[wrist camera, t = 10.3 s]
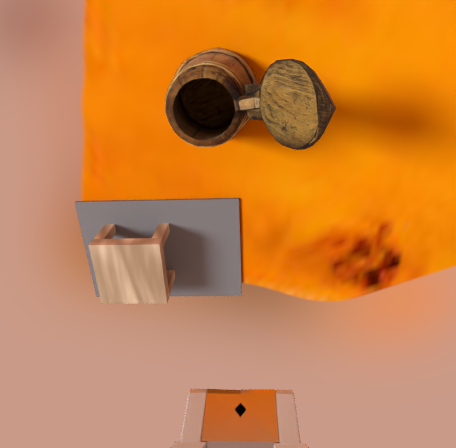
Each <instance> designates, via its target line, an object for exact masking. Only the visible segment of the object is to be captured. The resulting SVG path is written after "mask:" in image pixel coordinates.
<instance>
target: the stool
mask: <svg viewBox="0 0 456 448" xmlns="http://www.w3.org/2000/svg"><path fill="white" fill-rule="evenodd" d="M169 232H170V230H169V223H159V224H158V226H157V228H156V230H155V233H154V235H153V237H152V238H131V239H112V238H113V237H114V235H115V234H116V228H115V224H105V225H104V226H103V228H102V229H101V230H100V231H99V233H98V234H97V235H96V236H95V238H94V239H93V240H92V241H91V243H90V244H89V245H88V246H89V250H90V254H91V259H92V263H93V268H94V272H95V276H96V281H97V285H98V290H99V294H100V298H101V303H102V304H105V303H106V304H109V303H110V304H115V303H116V304H120V303H121V304H123V303H167V302H168V299H169V296H170V293H171V290H172V286H173V283H174V280H175V271H174V270H166V264H165V257H164V249H163V247H164V244H165V242H166V240H167V237H168V235H169Z"/></svg>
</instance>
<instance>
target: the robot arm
mask: <svg viewBox="0 0 456 448" xmlns="http://www.w3.org/2000/svg"><path fill="white" fill-rule="evenodd" d="M170 448H309V447H308V446H307V445H306V444H301V442H300V435H299V428H298V420H297V413H296V406H295V398H294V393H293V391H292V390H219V389H190V391H189V394H188V400H187V406H186V411H185V417H184V423H183V429H182V435H181V441H178V442H174V444H173V445H172V446H171V447H170Z"/></svg>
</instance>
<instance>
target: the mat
mask: <svg viewBox="0 0 456 448" xmlns="http://www.w3.org/2000/svg"><path fill="white" fill-rule="evenodd" d="M75 206H76V210H77V214H78V219H79V223H80V227H81V232H82V236H83V240H84V244H85V249H86V253H87V257H88V262H89V266H90V270H91V274H92V279H93V283H94V288H95V292H96V296H97V297H100V294H99V290H98V285H97V281H96V276H95V272H94V268H93V263H92V259H91V254H90V250H89V246H88V245H89V244H90V243H91V241H92V240H93V239H94V238H95V236H96V235H97V234H98V233H99V231H100V230H101V229H102V228H103V226H104V225H105V224H115V228H116V234H115V235H114V237H113V238H112V239H131V238H152V237H153V235H154V233H155V230H156V228H157V226H158V224H159V223H169V230H170V232H169V235H168V237H167V240H166V242H165V244H164V247H163V249H164V257H165V264H166V270H174V271H175V280H174V283H173V286H172V290H171V293H170V296H242V284H241V250H240V217H239V198H215V199H167V200H118V201H76V202H75Z"/></svg>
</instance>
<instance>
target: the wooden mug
mask: <svg viewBox="0 0 456 448" xmlns="http://www.w3.org/2000/svg"><path fill="white" fill-rule="evenodd" d="M335 109H336V107H335V105H334V103H333V101H332V99H331V97H330V95H329V93H328V91H327V90H326V88H325V87H324V85H323V83H322V82H321V80H320V79H319V77H318V76H317V74H316V73H315V72H314V71H313V70H312V69H311V68H310V67H309V66H308V65H306V64H305V63H304V62H302V61H298V60H294V59H284V60H277V61H275V62H274V63H273V64H271V65H270V66H269V68H268V69H267V71H266V73H265V75H264V76H263V78H262V81H261V83H260V84H258V80H257V79H256V77H255V75H254V73H253V71H252V69H251V68H250V67H249V65H248V64H247V63H246V62H245V60H244V59H242V58H241V57H240V56H239V55H238V54H237V53H236V52H233V51H229V50H226V49H222V48H214V49H210V50H206V51H203V52H200V53H198V54H196V55H195V56H193V57H191V58H189V59H188V60H186V61H185V62H183V63H182V64H181V65H180V67H179V69H178V70H177V72H176V73H175V77H174V79H173V81H172V83H171V84H170V86H169V88H168V90H167V94H166V98H165V112H166V115H167V118H168V121H169V123H170V125H171V126H172V128H173V130H174V131H175V133H176V134H177V135H178V136H179V137H180V138H181V139H183V140H184V141H186V142H187V143H189V144H192V145H195V146H198V147H214V146H217V145H221V144H223V143H225V142H227V141H229V140H230V139H232V138H234V136H235V135H236V134H237V133H238V131H239V130H240V129H242V127H243V126H244V125H245V124H246V123H247V122H248V121H249V119H255V120H263V121H264V123H265V125H266V127H267V129H268V130H269V132H270V133H271V134H272V136H273V137H274V138H275V140H276V141H277V142H279V143H280V144H282V145H283V146H286V147H289V148H292V149H297V150H301V149H306V148H309V147H311V146H313V145H314V144H315V143H316V142H317V141H318V140H319V139H320V137H321V136H322V134H323V133H324V131H325V129H326V127H327V125H328V123H329V121H330V119H331V117H332V115H333V113H334V111H335Z"/></svg>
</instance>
